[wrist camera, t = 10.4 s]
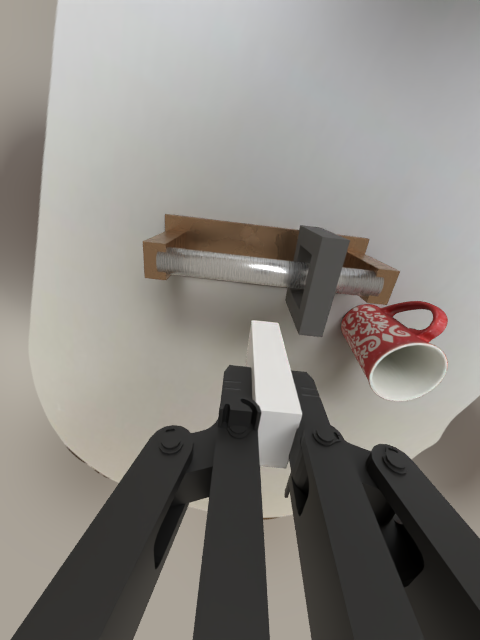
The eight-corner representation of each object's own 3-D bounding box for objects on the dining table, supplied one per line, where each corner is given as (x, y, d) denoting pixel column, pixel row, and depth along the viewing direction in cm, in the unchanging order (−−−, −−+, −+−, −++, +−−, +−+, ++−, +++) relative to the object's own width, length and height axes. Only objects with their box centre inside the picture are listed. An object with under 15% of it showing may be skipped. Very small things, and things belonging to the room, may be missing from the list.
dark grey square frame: (285, 300, 36) (298, 334, 27) (300, 225, 32) (322, 236, 23) (302, 301, 36) (322, 337, 27) (320, 227, 32) (350, 240, 23)
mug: (364, 355, 46) (407, 412, 34) (324, 332, 44) (354, 384, 32) (418, 298, 41) (492, 341, 29) (376, 270, 39) (436, 303, 27)
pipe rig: (167, 269, 39) (139, 295, 29) (166, 214, 36) (134, 221, 26) (350, 290, 40) (387, 322, 30) (367, 238, 37) (415, 254, 26)
